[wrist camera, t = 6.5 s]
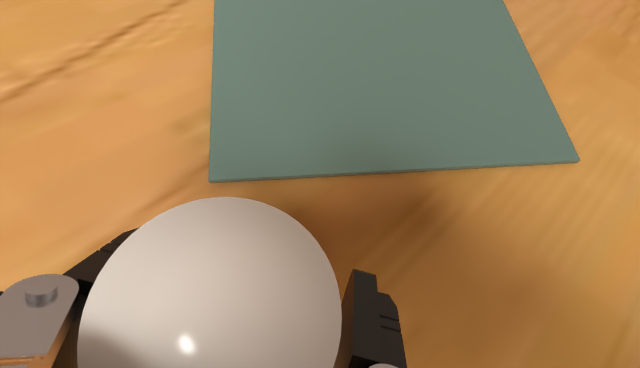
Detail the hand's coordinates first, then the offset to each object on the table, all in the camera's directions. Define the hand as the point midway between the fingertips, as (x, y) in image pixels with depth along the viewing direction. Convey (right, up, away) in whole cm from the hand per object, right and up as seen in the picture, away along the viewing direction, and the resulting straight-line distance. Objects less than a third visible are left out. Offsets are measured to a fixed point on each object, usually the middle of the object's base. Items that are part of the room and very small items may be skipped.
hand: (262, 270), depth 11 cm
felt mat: (+5, +12, +11) cm, 18 cm away
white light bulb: (-1, -3, +3) cm, 5 cm away
